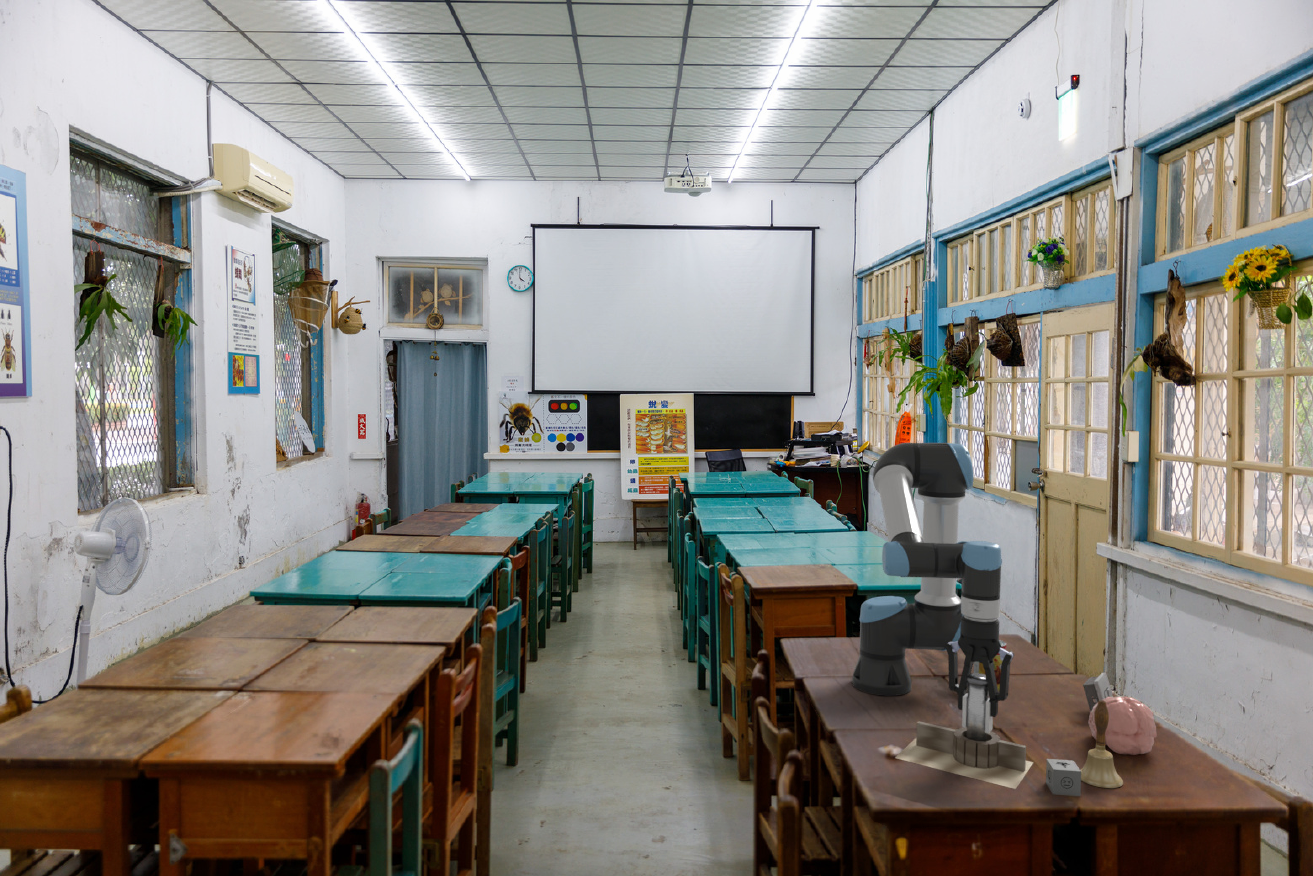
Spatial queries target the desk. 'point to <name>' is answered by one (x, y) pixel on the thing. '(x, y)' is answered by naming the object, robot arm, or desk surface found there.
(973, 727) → the pin
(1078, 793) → the dice cube
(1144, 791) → the desk surface
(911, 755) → the hinge board
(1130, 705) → the brain
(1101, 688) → the electrical switch
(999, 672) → the canned food
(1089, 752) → the hand bell
